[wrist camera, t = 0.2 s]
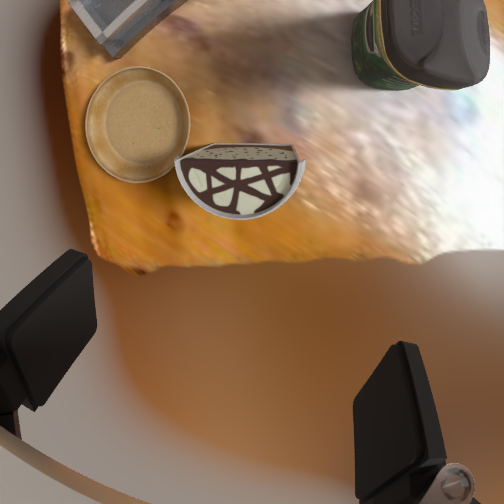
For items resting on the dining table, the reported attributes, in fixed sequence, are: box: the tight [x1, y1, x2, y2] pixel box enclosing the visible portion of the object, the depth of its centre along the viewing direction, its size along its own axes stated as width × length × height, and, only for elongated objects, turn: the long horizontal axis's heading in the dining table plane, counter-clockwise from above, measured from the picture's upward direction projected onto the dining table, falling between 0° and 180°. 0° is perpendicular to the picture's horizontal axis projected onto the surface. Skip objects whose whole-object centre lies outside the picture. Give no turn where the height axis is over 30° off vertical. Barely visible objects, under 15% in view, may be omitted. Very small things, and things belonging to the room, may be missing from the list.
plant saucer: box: [85, 66, 191, 183], centre depth 36 cm, size 15×15×3 cm
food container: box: [174, 143, 306, 220], centre depth 33 cm, size 12×6×10 cm, turn 90°
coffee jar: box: [352, 0, 490, 91], centre depth 20 cm, size 10×8×19 cm
